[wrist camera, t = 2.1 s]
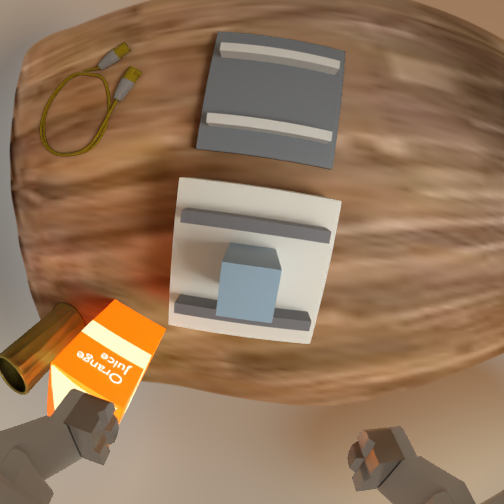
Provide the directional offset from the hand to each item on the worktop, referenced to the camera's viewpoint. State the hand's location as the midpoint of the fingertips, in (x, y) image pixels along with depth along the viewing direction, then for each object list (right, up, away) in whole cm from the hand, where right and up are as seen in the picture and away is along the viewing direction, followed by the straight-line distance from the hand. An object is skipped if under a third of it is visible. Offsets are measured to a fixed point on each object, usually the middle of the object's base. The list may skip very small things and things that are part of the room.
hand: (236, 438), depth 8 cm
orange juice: (-16, -5, +27) cm, 32 cm away
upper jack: (0, +6, +24) cm, 24 cm away
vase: (-25, -4, +27) cm, 37 cm away
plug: (0, +4, +18) cm, 18 cm away
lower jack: (+3, +22, +19) cm, 30 cm away
